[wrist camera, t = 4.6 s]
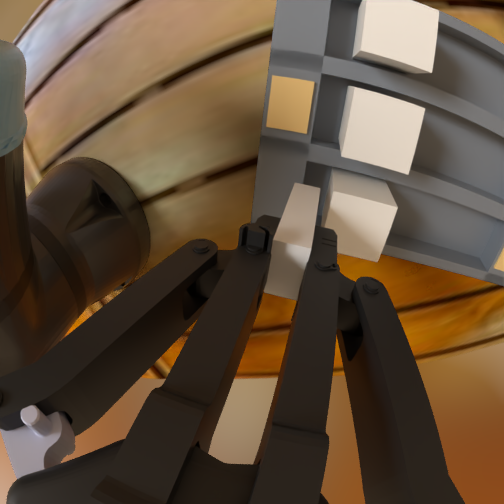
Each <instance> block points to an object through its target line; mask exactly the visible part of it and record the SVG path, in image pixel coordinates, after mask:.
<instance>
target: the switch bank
mask: <svg viewBox="0 0 504 504" xmlns="http://www.w3.org/2000/svg"><path fill="white" fill-rule="evenodd" d="M412 1H413V0H412ZM361 2H362V0H277V4H276V12H275V20H274V28H273V36H272V44H271V53H270V61H269V69H268V78H267V86H266V94H265V103H264V111H263V120H262V128H261V137H260V145H259V154H258V163H257V171H256V180H255V189H254V197H253V206H252V215H251V223H255V222H256V220H257V219H258V218H259V217H261V216H262V215H264V214H265V215H269V216H274V217H278V218H282V215H283V213H284V210H285V207H286V205H287V202H288V199H289V197H290V194H291V191H292V189H293V186H294V184H295V183H300V184H304V185H309V186H313V187H317V188H320V195H319V202H318V209H317V216H316V223H315V225H316V226H321V221H322V211H323V206H324V202H325V198H326V193H327V189H328V185H329V180H330V175H331V171H332V166H333V167H337V168H342V169H346V170H350V171H354V172H358V173H362V174H366V175H369V176H373V177H377V178H381V179H384V180H385V181H386V183H387V185H388V187H389V190H390V192H391V194H392V196H393V198H394V200H395V202H396V205H397V207H398V209H397V212H396V215H395V217H394V220H393V223H392V226H391V229H390V231H389V234H388V237H387V239H386V242H385V245H384V247H383V250H382V252H381V254H384V255H388V256H392V257H396V258H400V259H404V260H408V261H412V262H416V263H420V264H424V265H428V266H432V267H435V268H439V269H443V270H447V271H451V272H454V273H458V274H462V275H466V276H469V277H473V278H477V279H480V280H484V281H488V282H491V283H495V284H498V285H502V286H504V44H503V43H501V42H500V41H498V40H496V39H495V38H493V37H491V36H489V35H488V34H486V33H484V32H482V31H480V30H479V29H477V28H475V27H473V26H471V25H469V24H467V23H465V22H463V21H461V20H459V19H457V18H455V17H452V16H450V15H448V14H446V13H443V12H441V11H439V10H438V11H439V20H438V31H437V40H436V48H435V56H434V63H433V69H432V73H412V74H406V73H403V72H400V71H397V70H394V69H390V68H387V67H384V66H380V65H377V64H373V63H369V62H365V61H362V60H358V59H353V58H352V55H353V48H354V41H355V33H356V25H357V17H358V9H359V7H360V4H361ZM415 2H416V1H415ZM423 5H424V4H423ZM428 7H429V6H428ZM433 9H434V8H433ZM348 86H353V87H357V88H361V89H365V90H369V91H373V92H376V93H380V94H383V95H387V96H390V97H393V98H396V99H400V100H403V101H406V102H409V103H412V104H415V105H417V106H420V107H423V108H425V112H424V116H423V121H422V125H421V129H420V133H419V137H418V141H417V145H416V149H415V153H414V156H413V160H412V164H411V167H410V171H409V174H408V175H407V174H404V173H401V172H397V171H394V170H391V169H387V168H384V167H380V166H376V165H373V164H369V163H365V162H361V161H358V160H354V159H350V158H345V157H341V151H340V145H339V139H338V137H339V132H340V127H341V121H342V116H343V110H344V105H345V99H346V93H347V87H348Z"/></svg>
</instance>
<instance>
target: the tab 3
mask: <svg viewBox="0 0 504 504" xmlns="http://www.w3.org/2000/svg"><path fill="white" fill-rule="evenodd" d="M397 209H398V207H397V205H396V202H395V200H394V198H393V196H392V194H391V192H390V190H389V187H388V185H387V183H386V181H385V180H384V179H381V178H377V177H373V176H369V175H366V174H362V173H358V172H354V171H350V170H346V169H342V168H337V167H333V166H332V171H331V175H330V180H329V185H328V189H327V193H326V198H325V202H324V206H323V211H322V221H321V227H325V228H329V229H333V230H334V231H335V233H336V234H337V253H340V254H344V255H349V256H353V257H357V258H362V259H366V260H370V261H374V262H378V260H379V258H380V255H381V252H382V250H383V247H384V245H385V242H386V239H387V237H388V234H389V231H390V229H391V226H392V223H393V220H394V217H395V215H396V212H397Z"/></svg>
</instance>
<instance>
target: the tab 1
mask: <svg viewBox="0 0 504 504" xmlns="http://www.w3.org/2000/svg"><path fill="white" fill-rule="evenodd" d="M438 20H439V11H438V10H436V9H433V8H431V7H428V6H426V5H423V4H421V3H418V2H415V1H412V0H362V2H361V4H360V7H359V9H358V17H357V25H356V33H355V41H354V48H353V55H352V58H353V59H358V60H362V61H365V62H369V63H373V64H377V65H380V66H384V67H387V68H390V69H394V70H397V71H400V72H403V73H406V74H412V73H432V69H433V63H434V56H435V48H436V40H437V31H438Z"/></svg>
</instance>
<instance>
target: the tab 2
mask: <svg viewBox="0 0 504 504" xmlns="http://www.w3.org/2000/svg"><path fill="white" fill-rule="evenodd" d="M424 112H425V108H423V107H420V106H417V105H415V104H412V103H409V102H406V101H403V100H400V99H396V98H393V97H390V96H387V95H383V94H380V93H376V92H373V91H369V90H365V89H361V88H357V87H353V86H348V87H347V93H346V99H345V105H344V110H343V116H342V121H341V127H340V132H339V137H338V139H339V145H340V151H341V157H345V158H350V159H354V160H358V161H361V162H365V163H369V164H373V165H376V166H380V167H384V168H387V169H391V170H394V171H397V172H401V173H404V174H407V175H408V174H409V171H410V167H411V164H412V160H413V156H414V153H415V149H416V145H417V141H418V137H419V133H420V129H421V125H422V121H423V116H424Z"/></svg>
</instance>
